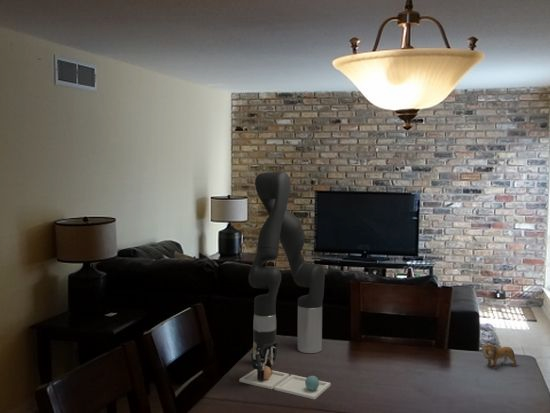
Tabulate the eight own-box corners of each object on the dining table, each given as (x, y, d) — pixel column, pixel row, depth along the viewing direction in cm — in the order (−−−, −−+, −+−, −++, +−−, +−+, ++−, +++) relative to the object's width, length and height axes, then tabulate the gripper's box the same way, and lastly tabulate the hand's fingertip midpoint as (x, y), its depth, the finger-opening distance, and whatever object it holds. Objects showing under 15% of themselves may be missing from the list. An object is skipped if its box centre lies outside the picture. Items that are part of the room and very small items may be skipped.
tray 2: (291, 378, 187) (291, 374, 187) (330, 386, 180) (330, 383, 180) (274, 391, 177) (274, 387, 177) (314, 400, 170) (314, 396, 170)
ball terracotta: (262, 375, 188) (262, 362, 188) (273, 377, 186) (273, 365, 186) (255, 379, 184) (255, 366, 184) (267, 382, 182) (267, 369, 182)
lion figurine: (488, 371, 194) (489, 346, 193) (477, 366, 198) (478, 341, 198) (520, 365, 199) (522, 341, 199) (509, 360, 204) (510, 336, 203)
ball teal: (308, 385, 180) (309, 372, 179) (321, 388, 178) (321, 375, 177) (302, 390, 176) (302, 377, 176) (315, 393, 174) (315, 380, 173)
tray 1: (258, 370, 193) (258, 367, 193) (289, 377, 188) (289, 373, 188) (239, 382, 183) (239, 379, 183) (271, 390, 177) (271, 386, 177)
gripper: (265, 320, 192) (265, 368, 193) (243, 331, 179) (243, 383, 181) (285, 323, 188) (284, 373, 190) (263, 335, 176) (263, 388, 177)
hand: (264, 377), depth 185 cm, fingers closed on ball terracotta, 4 cm apart
